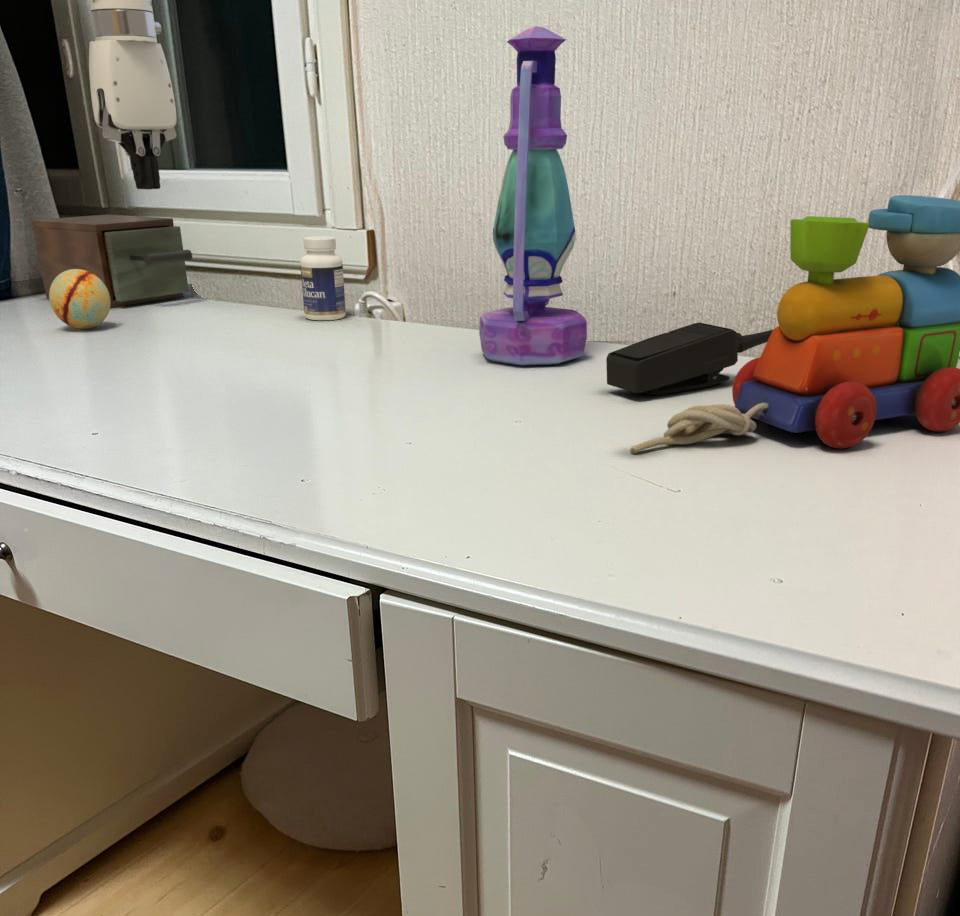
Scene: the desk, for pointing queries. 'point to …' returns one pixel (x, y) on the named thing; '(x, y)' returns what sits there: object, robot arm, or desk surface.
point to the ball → (79, 298)
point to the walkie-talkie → (679, 359)
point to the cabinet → (86, 247)
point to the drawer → (146, 262)
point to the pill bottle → (322, 279)
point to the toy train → (853, 335)
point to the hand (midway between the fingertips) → (148, 188)
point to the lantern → (534, 219)
